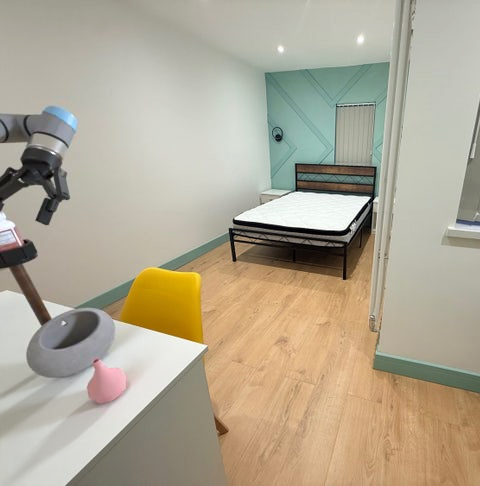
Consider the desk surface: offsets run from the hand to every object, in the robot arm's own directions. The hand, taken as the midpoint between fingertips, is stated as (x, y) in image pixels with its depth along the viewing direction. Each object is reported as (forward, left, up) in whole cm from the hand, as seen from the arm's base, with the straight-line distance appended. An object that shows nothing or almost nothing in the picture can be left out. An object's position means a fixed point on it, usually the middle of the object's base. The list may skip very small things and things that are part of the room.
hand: (14, 223), depth 66 cm
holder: (-1, -4, -7) cm, 9 cm away
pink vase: (+18, -21, -42) cm, 50 cm away
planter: (+7, -9, -42) cm, 43 cm away
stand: (-1, -4, -41) cm, 42 cm away
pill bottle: (-1, -4, -8) cm, 9 cm away
